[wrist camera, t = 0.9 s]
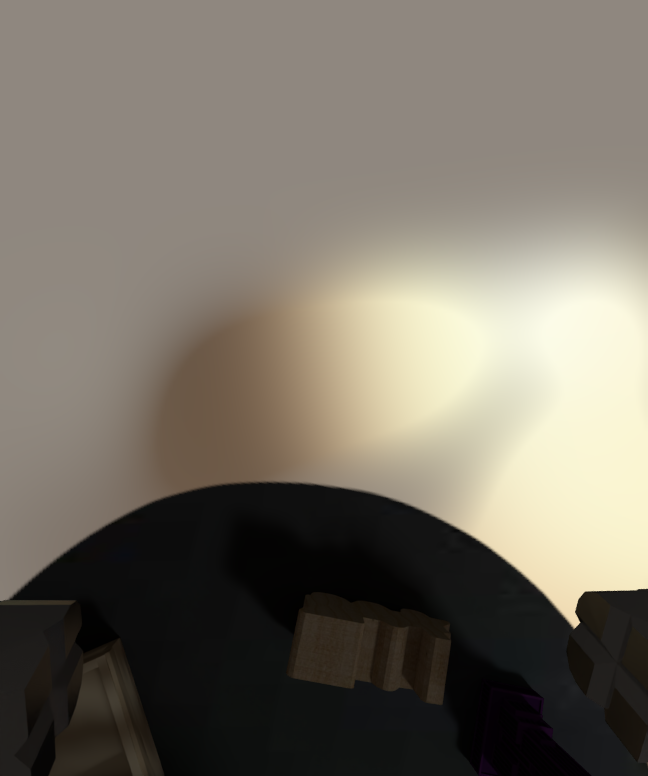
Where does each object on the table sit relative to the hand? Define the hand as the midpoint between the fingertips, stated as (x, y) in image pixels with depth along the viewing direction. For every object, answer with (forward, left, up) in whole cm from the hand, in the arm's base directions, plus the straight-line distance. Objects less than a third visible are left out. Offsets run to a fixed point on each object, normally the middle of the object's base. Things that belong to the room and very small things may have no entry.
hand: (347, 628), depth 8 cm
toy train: (-17, -4, -49) cm, 52 cm away
